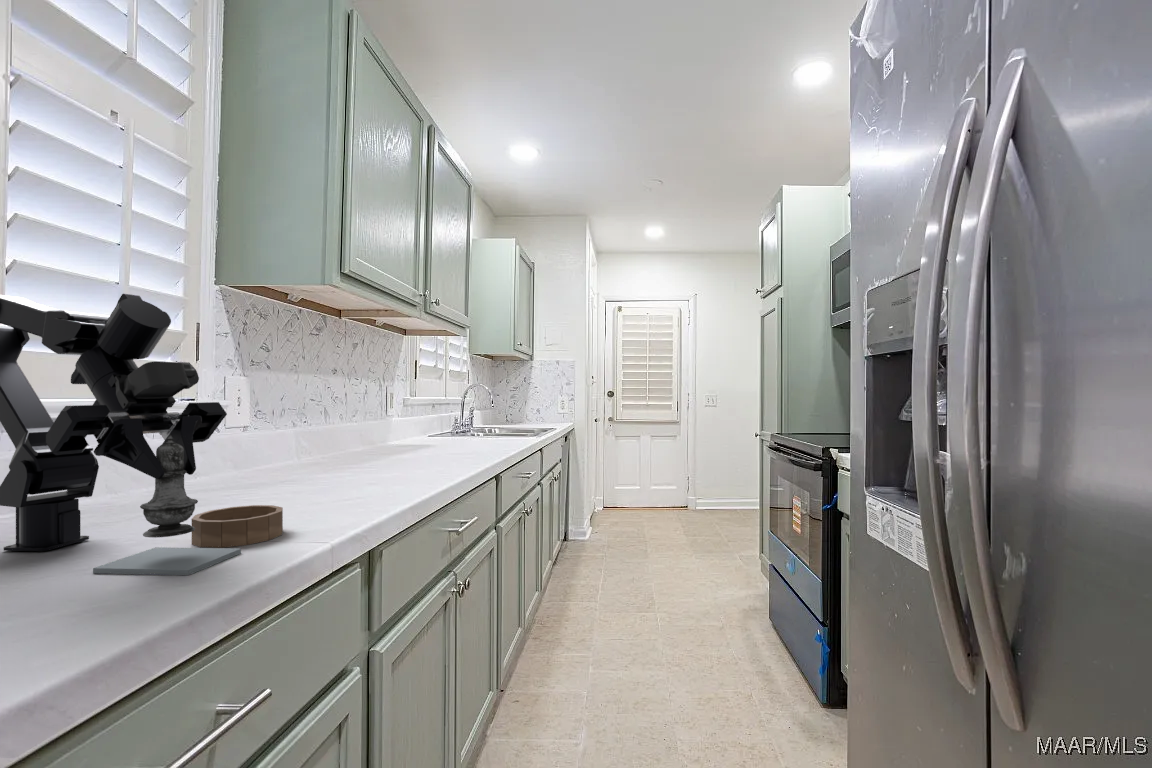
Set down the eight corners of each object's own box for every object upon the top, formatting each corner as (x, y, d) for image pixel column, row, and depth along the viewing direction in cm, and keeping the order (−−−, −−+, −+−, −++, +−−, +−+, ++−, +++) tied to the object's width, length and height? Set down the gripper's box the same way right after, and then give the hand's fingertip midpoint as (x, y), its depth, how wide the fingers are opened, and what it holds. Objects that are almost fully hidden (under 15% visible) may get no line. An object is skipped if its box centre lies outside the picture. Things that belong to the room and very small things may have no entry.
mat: (93, 573, 68) (93, 568, 68) (155, 551, 77) (155, 547, 77) (188, 575, 66) (188, 569, 66) (241, 553, 75) (240, 548, 75)
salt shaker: (147, 540, 67) (147, 438, 68) (134, 532, 71) (135, 435, 71) (204, 531, 72) (205, 435, 72) (189, 524, 76) (190, 432, 76)
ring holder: (173, 546, 79) (172, 521, 79) (229, 527, 90) (229, 505, 90) (250, 548, 78) (250, 522, 78) (297, 528, 89) (297, 505, 89)
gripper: (61, 333, 64) (127, 435, 60) (217, 345, 82) (275, 425, 78) (19, 403, 67) (78, 505, 63) (178, 400, 85) (233, 479, 81)
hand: (177, 474), depth 71 cm, fingers closed on salt shaker, 4 cm apart
